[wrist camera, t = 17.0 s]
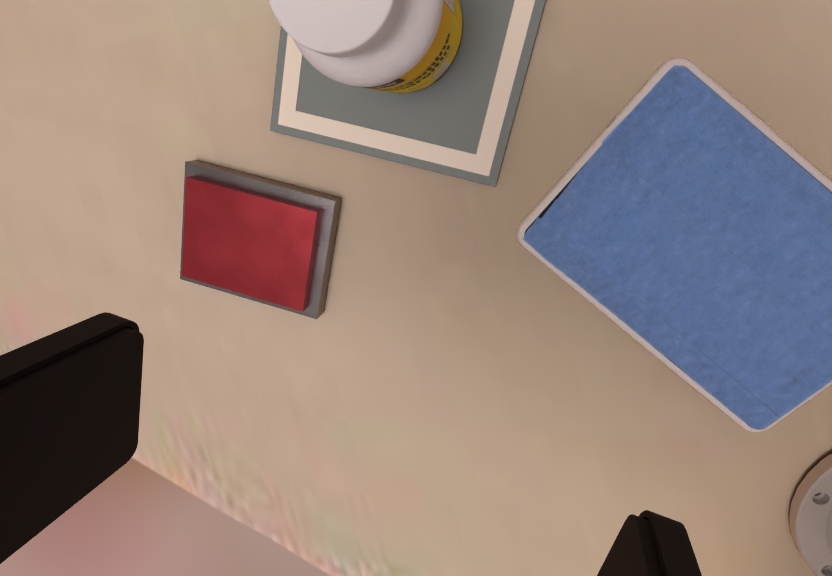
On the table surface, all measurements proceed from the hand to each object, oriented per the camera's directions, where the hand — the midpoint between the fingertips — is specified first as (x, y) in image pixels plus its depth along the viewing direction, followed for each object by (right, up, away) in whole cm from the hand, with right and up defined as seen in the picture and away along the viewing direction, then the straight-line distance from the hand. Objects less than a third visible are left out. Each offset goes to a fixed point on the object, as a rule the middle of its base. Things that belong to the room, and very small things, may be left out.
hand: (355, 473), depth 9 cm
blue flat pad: (+18, +5, +20) cm, 27 cm away
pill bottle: (+1, +17, +18) cm, 25 cm away
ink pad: (-9, +7, +25) cm, 27 cm away
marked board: (0, +17, +19) cm, 26 cm away
